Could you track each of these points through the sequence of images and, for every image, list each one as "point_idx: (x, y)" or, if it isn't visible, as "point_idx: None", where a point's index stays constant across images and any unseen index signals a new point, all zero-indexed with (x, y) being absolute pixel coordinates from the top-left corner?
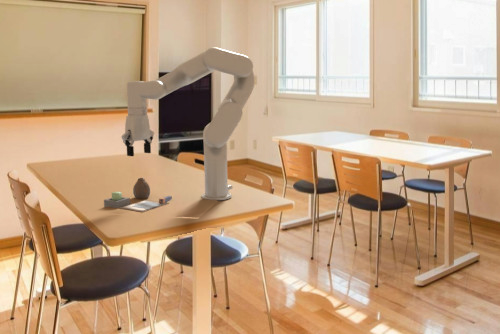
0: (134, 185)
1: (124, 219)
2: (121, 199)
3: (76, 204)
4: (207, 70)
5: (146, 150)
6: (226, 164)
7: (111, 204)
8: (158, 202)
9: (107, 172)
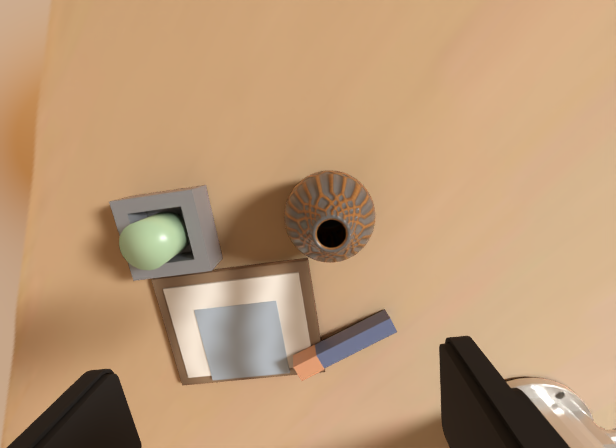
0: (293, 204)
1: None
2: (175, 255)
3: (59, 35)
4: None
5: (457, 412)
6: None
7: None
8: (303, 341)
9: None
